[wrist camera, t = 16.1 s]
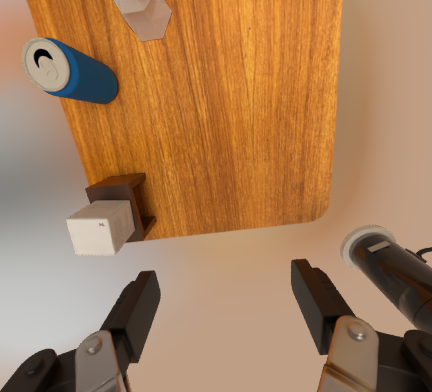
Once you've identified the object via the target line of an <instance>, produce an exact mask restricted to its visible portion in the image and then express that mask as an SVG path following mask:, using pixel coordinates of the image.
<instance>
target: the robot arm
mask: <svg viewBox="0 0 432 392" xmlns="http://www.w3.org/2000/svg"><path fill="white" fill-rule="evenodd" d="M431 251H432V247H431V248H425V249H421V250H419V251H418V252H417V253H416V254H415V253H413V252H412V251H410V250H408V249H403V248H402V247H400V246H399V245H398V244H396V243H395V242H393V241H392V240H391V239H390V238H388V237H387V236H385V235H384V234H381V233H375V232H374V233H367V234H364V235H362V236H360V237H359V238H357V239H356V240H355V241H354V242H353V243H352V245H351V246H350V249H349V257H350V260H351V261H352V262H353V263H354V264H355V265H356V266H357V267H358V268H359V269H360V270H361V271H362V272H363V273H364V274H365V275H366V276H367V277H368V278H369V279H370V280H371V281H372V282H373V283H374V284H375V286H376V287H377V288H378V289H379V290H380V291H381V292H382V293H383V294H384V295H385V296H386V297H387V298H388V299H389V300H390V301H391V302H392V303H393V304H394V305H395V306H396V307H397V309H398V310H400V312H401V313H402V314H403V315H404V316H405V317H406V318H407V319H408V320H409V321H410V322H411V323H412V324H413V325H414V326H415V327H416V328H417V330H409V331H407V332H406V333H405V334H404V338H403V337H398V336H394V335H390V334H385V333H381V332H378V331H375V330H374V329H373V328H372V327H371V326H370V325H369V324H368V323H367V322H365V321H364V320H362V319H360V318H357V317H356V316H355V314H354V313H353V312H352V310H351V309H350V307H349V306H348V305H347V303H346V302H345V300H344V299H343V297H342V296H341V294H340V293H339V292H338V290H336V287H335V286H334V284H333V283H332V282H331V280H330V279H329V278H328V276H327V274H325V273H324V272H323V271H322V270H320V269H319V268H312V267H311V266H310V264H309V262H308V261H307V260H306V259H296V260H292V261H291V285H292V290H293V293H294V295H295V298H296V300H297V302H298V305H299V307H300V309H301V312H302V314H303V316H304V319H305V321H306V324H307V326H308V328H309V330H310V333H311V335H312V338H313V340H314V342H315V345H316V347H317V349H318V352H319V354H320V355H328V357H327V361H326V364H324V367H323V370H322V374H321V378H320V382H319V386H318V390H317V392H432V268H431V267H429V266H428V265H427V264H425V263H426V262H427V261H426V260H424V259H423V258H422V256H421V255H422V254H424V253H426V252H431ZM160 296H161V295H160V288H159V284H158V280H157V277H156V273H155V271H154V270H153V271H141V272H140V273H139V275H138V277H137V278H136V280H135V281H132V282H130V283H129V284H128V285H127V286H126V287H125V288H124V290H123V291H122V293H121V295H120V297H119V298H118V300H117V301H116V304H115V305H114V306H113V308H112V310H111V312H110V313H109V315H108V316H107V318H106V320H105V321H104V323H103V325H102V327H101V328H100V330H99V331H97V332H95V333H93V334H91V335H90V336H88V337H87V338H86V339H85V340H84V341H83V342H82V343H81V344H80V345H79V347H78V348H77V349H74V350H71V351H69V352H66V353H63V354H61V355H58V356H57V354H56V353H55V351H54V350H53V349H44V350H41V351H39V352H37V353H35V354H34V355H32V356H31V357H29V358H28V359H27V360H26V361H24V363H22V364H21V365H20V367H19V368H18V369H17V370H16V372H15V373H14V374H13V375H12V377H11V378H10V379H9V380H8V382H7V383H6V384H5V386H4V387H3V388H2V389H1V391H0V392H132V391H131V387H130V383H129V379H128V375H127V372H126V371H127V369H128V366H129V364H130V363H138V362H139V359H140V356H141V353H142V350H143V348H144V344H145V342H146V339H147V336H148V333H149V331H150V328H151V325H152V322H153V319H154V316H155V313H156V311H157V308H158V305H159V302H160Z"/></svg>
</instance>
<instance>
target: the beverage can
mask: <svg viewBox="0 0 432 392" xmlns="http://www.w3.org/2000/svg"><path fill="white" fill-rule="evenodd" d="M22 64H23V68H24V70H25V72H26V74H27V76H28V77H29V79H30V80H31V81H32V82H33V83H34V84H35V85H36V86H38V87H39V88H41V89H42V90H44V91H45V92H47V93H49V94H51V95H54V96H58V97H64V98H70V99H75V100H81V101H87V102H93V103H99V104H105V103H108V102H110V101H112V100H113V99H114V97H115V96H116V93H117V80H116V77H115V75H114V73H113V72H112V71H111V69H110V68H109V67H108V66H106V65H105V64H103V63H101V62H99V61H97V60H95V59H93V58H91V57H89V56H87V55H85V54H83V53H81V52H79V51H77V50H76V49H74V48H72V47H70V46H68V45H66V44H64V43H62V42H60V41H58V40H56V39H52V38H33V39H31V40H29V41H28V42H27V43H26V44H25V46H24V48H23V50H22Z"/></svg>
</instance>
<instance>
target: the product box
mask: <svg viewBox="0 0 432 392" xmlns="http://www.w3.org/2000/svg"><path fill="white" fill-rule="evenodd" d="M66 222H67V225H68V229H69V232H70V235H71V239H72V242H73V245H74V249H75V252H76V255H116V254H117V252H118V251H119V250H120V248H121V247H122V246H123V244H124V243H125V242H126V241H127V240H128V238H129V237H130V236H131V235H132V233H133V232H134V231H135V227H134V221H133V216H132V210H131V205H130V201H129V200H97V201H94V202H93V203H91V204H90V205H88V206H86V207H85V208H83V209H82V210H80V211H78V212H77V213H75V214H74V215H72V216H70V217H69V218H67V219H66Z"/></svg>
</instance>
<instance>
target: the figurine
mask: <svg viewBox="0 0 432 392" xmlns="http://www.w3.org/2000/svg"><path fill="white" fill-rule="evenodd" d="M113 1H114V2H115V4H116V5H117V7H118V8H119V10H120V11H121V14H122V17H123V18H124V20H125V21H126V22H127V24H128V25H129V26H130V27H131V29H132V30H133V31H134V33H135V34H136V35H137V36H138V38H139V39H140V40H141V42H142V41H149V40H155V39H162V38H163V37H164V34H165V31H166V28H167V25H168V22H169V19H170V16H171V14H172V11H171V9H170V8H169V6H168V5H167V3H166V1H165V0H113Z"/></svg>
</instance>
